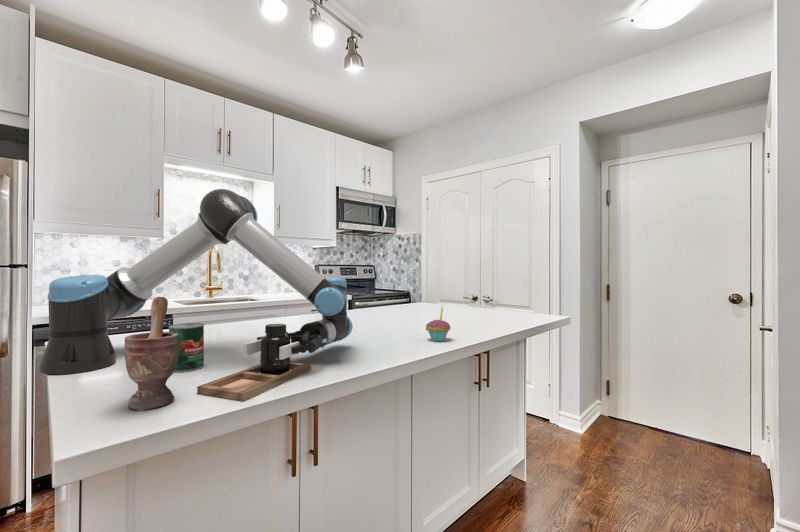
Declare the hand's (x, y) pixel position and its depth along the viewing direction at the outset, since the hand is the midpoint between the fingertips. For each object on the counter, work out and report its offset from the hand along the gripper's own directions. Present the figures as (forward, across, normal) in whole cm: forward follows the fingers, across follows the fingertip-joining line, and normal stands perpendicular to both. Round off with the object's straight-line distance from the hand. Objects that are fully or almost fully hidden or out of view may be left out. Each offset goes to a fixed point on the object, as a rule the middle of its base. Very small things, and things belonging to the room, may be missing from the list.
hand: (262, 351), depth 88 cm
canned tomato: (-1, +25, -7) cm, 26 cm away
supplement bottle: (-4, 0, -7) cm, 8 cm away
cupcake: (-58, -26, -7) cm, 64 cm away
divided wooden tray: (+1, 0, -6) cm, 7 cm away
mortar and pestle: (+19, +11, -7) cm, 23 cm away
